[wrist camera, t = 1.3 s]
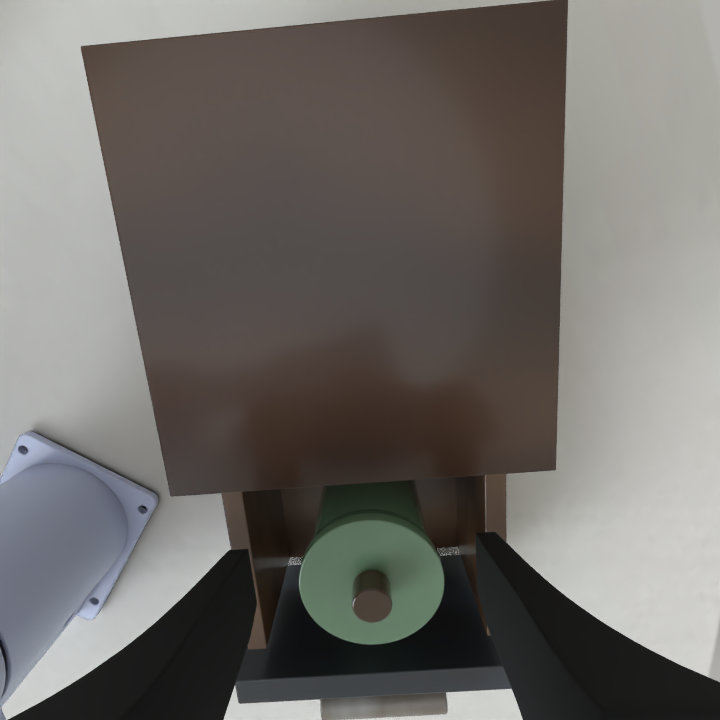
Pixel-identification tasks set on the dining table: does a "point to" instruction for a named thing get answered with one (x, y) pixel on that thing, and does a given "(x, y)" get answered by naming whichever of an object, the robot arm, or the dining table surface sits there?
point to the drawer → (363, 661)
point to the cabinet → (343, 243)
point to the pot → (371, 563)
